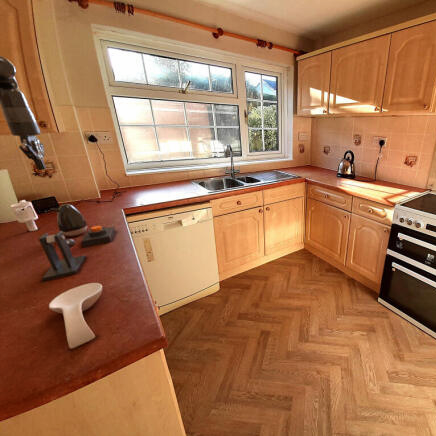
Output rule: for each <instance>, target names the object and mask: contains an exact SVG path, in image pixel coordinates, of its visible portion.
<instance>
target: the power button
mask: <svg viewBox="0 0 436 436" xmlns="http://www.w3.org/2000/svg"><path fill="white" fill-rule="evenodd" d="M101 227H102V225H95V226H92V227H90V230H92V232H97V231H100V230H102V228H101Z"/></svg>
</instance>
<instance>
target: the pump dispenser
mask: <svg viewBox="0 0 436 436" xmlns="http://www.w3.org/2000/svg"><path fill="white" fill-rule="evenodd" d="M49 211H50V212H55V213H56V212H57V213H56V220H57V221H56V222H57V227H58V230H59V231H62V232H63V234H64V236H66V237H77V236H80V235H82V234H84V233H85V232H87V229H88V222H87V220H86V218H85V217H84V215H83V214H82V213H81V211H79V209H78V208H77V207H75V206H74V205H72V204H69V203H64V204H61V205H60V206H59V207H58V208H52V207H51V208H50V210H49Z"/></svg>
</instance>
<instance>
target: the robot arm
mask: <svg viewBox="0 0 436 436" xmlns="http://www.w3.org/2000/svg"><path fill="white" fill-rule="evenodd" d="M16 74H17V69H16V67H15V65H14V64H13V63H12V62H11V61H10V60H9V59H8V58H7V57H4V56H2V55H0V109H1V113H2V115H3V118H4V121H5V123H6V124H7V127H8V129H9V131H10V133H11V135H12V136H13V137H19V140H20V145H18V147H19V149H20V150H21V152H22V153H23V154H24V155H25V156H26V157H27V158H28V159H29V160H32V161H33V163H34V165H35V168H36V170H38V171H42V170H46V169H47V167H46V164H45V162H44V157H45V148H44V144H43V142H40V140H39V138H38V137H37V136H38V135H39V136H40V135H41V134H42V133H41V130H40V127H39V124H38V123H37V120H36V117H35V115H34V113H33V111H32V109H31V108H30V105H29V102H28V100H27V98H26V95H25V94H24V92H23V91H22V90H21V89H20V86H19V84H18V82H17V79H16Z"/></svg>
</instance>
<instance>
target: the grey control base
mask: <svg viewBox="0 0 436 436" xmlns="http://www.w3.org/2000/svg"><path fill="white" fill-rule="evenodd" d="M101 228H102V230H100V231H97V232H92V230H91V229H90V230H88V231H86V234H85V235H84V237H83V238H82V239H81V241H80V242H81V245H82V248H86V247H90V246H95V245H100V244H107V243H110V242H112V241H113V238H114V236H115V234H116V229H115V226H109V227H106V226H101Z"/></svg>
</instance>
